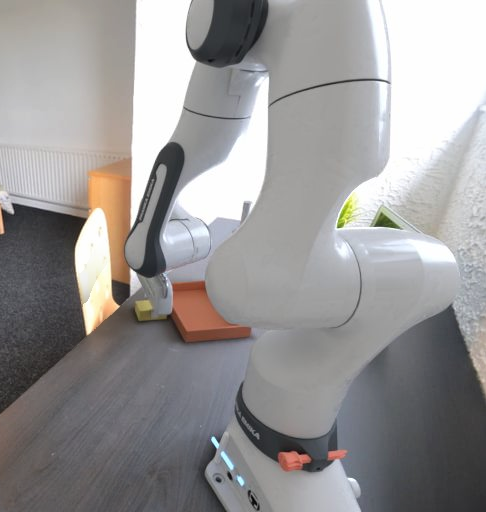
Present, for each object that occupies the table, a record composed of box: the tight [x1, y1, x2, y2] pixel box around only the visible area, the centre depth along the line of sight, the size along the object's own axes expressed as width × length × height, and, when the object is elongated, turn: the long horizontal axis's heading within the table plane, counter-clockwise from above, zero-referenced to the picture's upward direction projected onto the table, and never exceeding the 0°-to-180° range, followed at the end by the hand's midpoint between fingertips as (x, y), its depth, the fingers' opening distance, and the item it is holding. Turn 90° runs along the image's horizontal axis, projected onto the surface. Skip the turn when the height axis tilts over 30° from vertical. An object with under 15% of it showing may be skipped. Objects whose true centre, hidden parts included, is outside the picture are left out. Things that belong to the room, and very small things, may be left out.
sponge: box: [134, 299, 168, 322], centre depth 92 cm, size 7×4×3 cm, turn 96°
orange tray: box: [169, 279, 253, 343], centre depth 92 cm, size 21×15×3 cm
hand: (151, 309), depth 92 cm, fingers closed on sponge, 4 cm apart
